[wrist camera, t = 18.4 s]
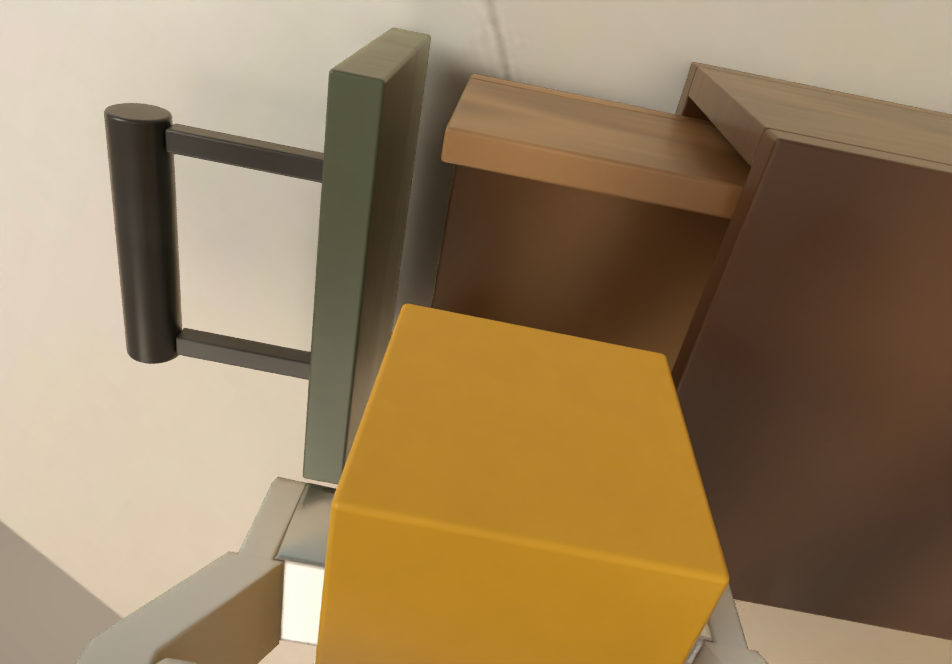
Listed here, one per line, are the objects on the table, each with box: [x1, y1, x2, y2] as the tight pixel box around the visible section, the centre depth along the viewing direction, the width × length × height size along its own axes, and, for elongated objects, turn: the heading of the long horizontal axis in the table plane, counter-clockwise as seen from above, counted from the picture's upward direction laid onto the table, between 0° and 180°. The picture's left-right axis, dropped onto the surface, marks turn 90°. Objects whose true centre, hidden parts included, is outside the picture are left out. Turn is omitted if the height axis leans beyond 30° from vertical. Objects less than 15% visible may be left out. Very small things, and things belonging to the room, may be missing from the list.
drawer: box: [104, 28, 751, 484], centre depth 20 cm, size 20×12×7 cm, turn 80°
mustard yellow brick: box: [315, 303, 729, 664], centre depth 11 cm, size 6×4×5 cm
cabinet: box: [671, 62, 952, 640], centre depth 21 cm, size 15×13×9 cm
